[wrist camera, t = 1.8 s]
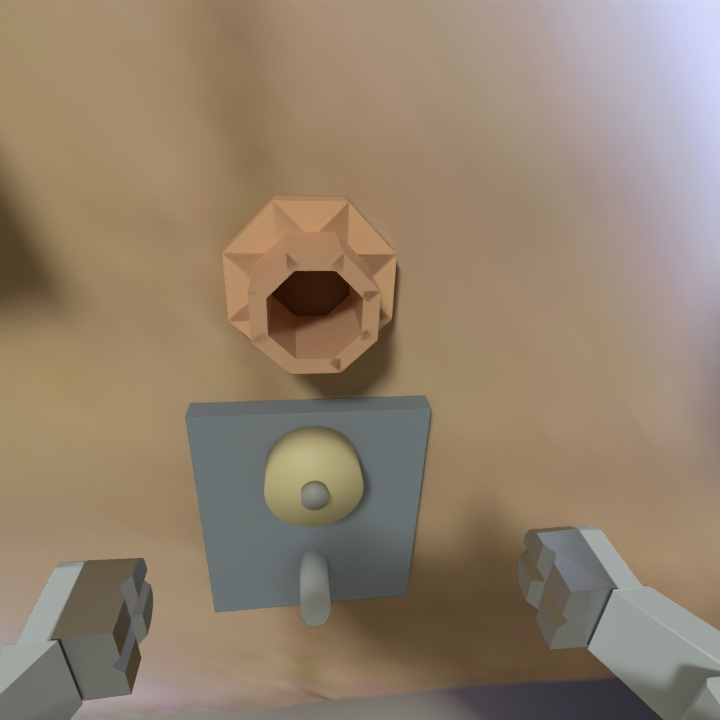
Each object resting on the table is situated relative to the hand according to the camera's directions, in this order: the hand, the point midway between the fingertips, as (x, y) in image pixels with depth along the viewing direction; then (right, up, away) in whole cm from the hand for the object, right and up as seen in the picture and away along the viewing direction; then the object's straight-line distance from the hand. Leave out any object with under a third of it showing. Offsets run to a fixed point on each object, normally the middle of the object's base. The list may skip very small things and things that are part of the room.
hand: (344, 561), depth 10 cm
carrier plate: (-3, -6, +25) cm, 26 cm away
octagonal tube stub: (-2, +9, +17) cm, 19 cm away
